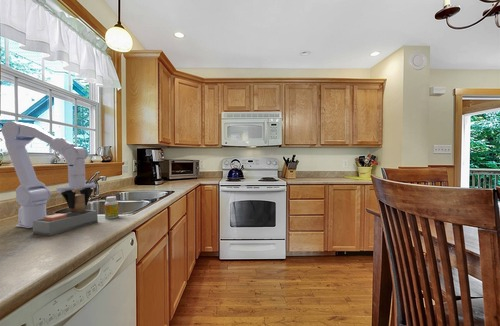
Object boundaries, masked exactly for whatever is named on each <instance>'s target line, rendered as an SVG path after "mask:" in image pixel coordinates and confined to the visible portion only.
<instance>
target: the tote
mask: <svg viewBox="0 0 500 326" xmlns="http://www.w3.org/2000/svg"><path fill="white" fill-rule="evenodd" d="M64 214H67V218H64V219H60V220H56V221H52V222H45V221H44V218H43V219H38V220H34V221H33V227H32V229H33V231H32V232H33V235H38V236H39V235H40V236H46V237H51V236H56V235H58V234H62V233H65V232H68V231H72V230H75V229H79V228H82V227H85V226H88V225H92V224H95V223H98V216H99V215H98V210H93V209H85V211H83V212H78V213H71V211H70V212H66V213H64Z"/></svg>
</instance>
